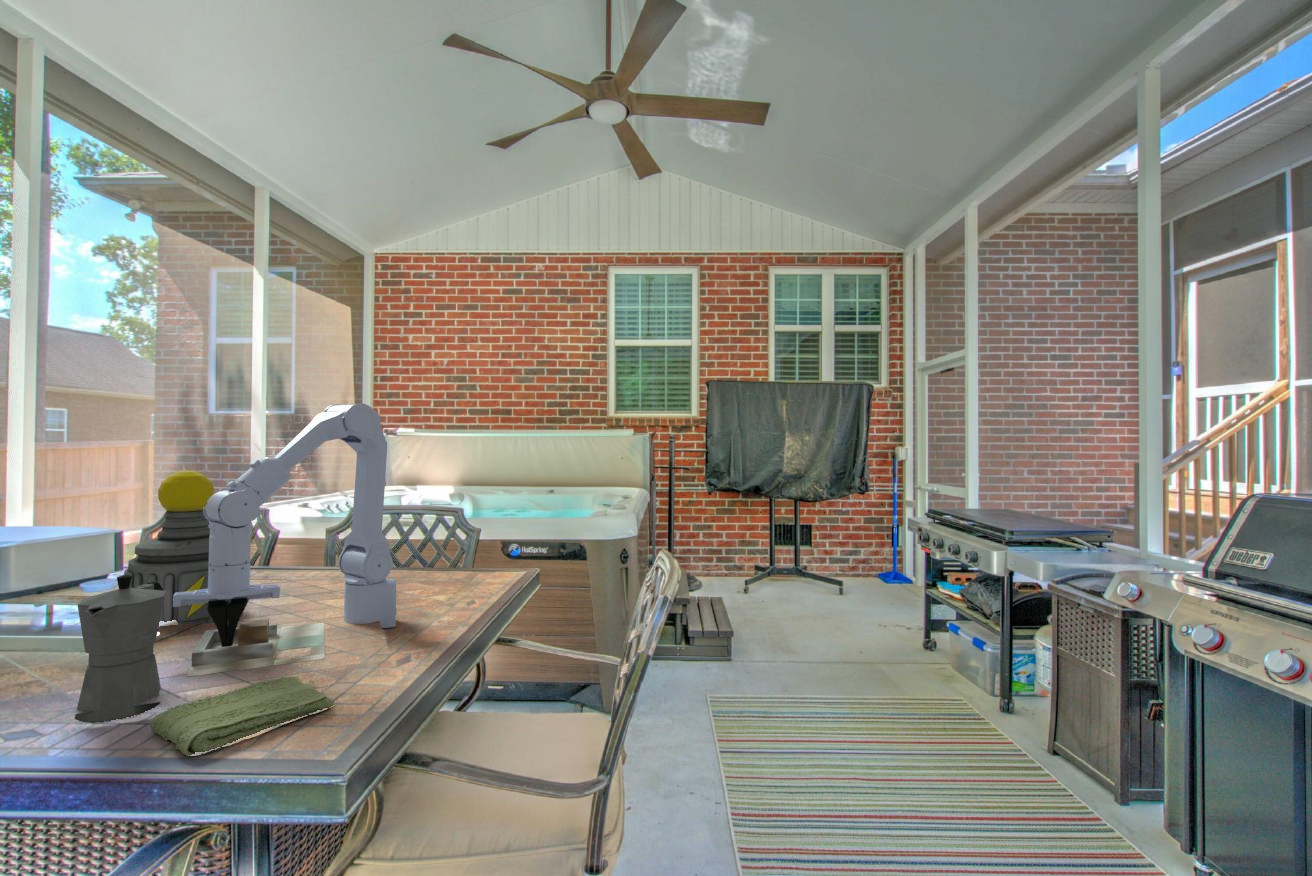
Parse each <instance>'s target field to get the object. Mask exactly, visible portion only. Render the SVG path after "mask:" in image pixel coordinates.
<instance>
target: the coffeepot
mask: <svg viewBox="0 0 1312 876" xmlns="http://www.w3.org/2000/svg"><path fill="white" fill-rule="evenodd" d="M131 579H132V576H130V575H124V574H122V575H119V576H117V577H116V581H117V585H118V588H116V589H113V590H110V591H107V592H106V591H105V592H102V593H98V594H94V595H91V596H87V597H83V598H81V600H80V601H79V602H78V603H77V610H78V617H79V621H80V622H79V623H80V629H81V634H82V641H83V647H84V653H85V654H88V662H87V663H88V664H87V666H86V670H85V672H84V678H83V681H82V686H81V690H80V694H79V698H78V702H77V706H76V709H77V710H80V711H81V710H82V711H87V712H80V713H76V714H75V716H74V720H77V721H79V722H81V721H82V722H81V723H88V724H96V723H95V722H101V723H105V722H104V721H110V722H112V721H111V720H116V719H121V720H123V719H122V718H125V719H127V718H126V717H129V718H132V717H131V716H133V717H135V716H134V715H136V716H138V715H141V713H142V714H144V712H145V711H147V712H149V711H151V710H153V709H154V708H156V707H158V706H159V705H160V704H161V701H157V702H149V703H143V702H146V701H148V700H150V699H153V698H155V697H157V696H159V695H160V692H161V687H162V686H161V681H160V675H159V669H158V665H157V660H156V654H155V653H154V650H155V649H154V648H155V647H154V645H155V643H156V642H157V641H156V640H157V632H159V628H160V627H159V622H160V617H161V612H162V607H163V602H164V597H165V593H166V591H164V590H163V588H162V587H161V585H160V583H159V582H157V581H152V582H150V583H148V584H145V585H140V586H138V587H137V588H129V586H130V582H131ZM141 703H143V704H141ZM152 708H153V709H152ZM148 710H149V711H148ZM145 713H146V712H145ZM116 721H117V720H116Z"/></svg>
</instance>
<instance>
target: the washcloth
mask: <svg viewBox="0 0 1312 876" xmlns="http://www.w3.org/2000/svg"><path fill="white" fill-rule="evenodd" d="M333 705H334V706H335V701H334V700H333V699H332V698H330V697H328V696H327V695H326V694H325V693H323V692H321V691H319V690H318V689H315V686H314V685H313V684H311V683H309V682H308V683H307V682H303V681H301V679H300V678H299V677H298V676H290V675H289V676H283V677H280V678H274V679H270V680H269V679H268V680H267V679H265V680H264V681H263V680H262V681H258V682H256V683H252V684H249V685H247V686H243V687H241V688H235V689H233V690H229V691H227V692H225V693H221V694H218V695H214V696H209V697H205V698H202V699H196V700H192V701H191V702H185V703H184V704H179V705H175V706H173V707H170V708H168V709H167V710H165V711H162V712H160V713H158V714H156V715H155V716H154V717H153V718H152V719H151V720H150V722H149V728H150V729H151V732H153V733H155V734H156V735H158V736H161V737H162V738H163V739H164V740H165V739H167V740H171V741H170V742H172V744H174V743H175V748H176V749H177V750H178V749H179V751H180V753H182V754H183V755H184V754H185V755H189V757H191V756H190V755H192V754H195V752H205V751H209V750H211V749H215V748H217V747H222V746H223V745H226V744H227V743H232V742H233V741H236V740H238V739H240V738H243V737H246V736H249V735H252V734H255V733H257V732H260V731H261V730H264V729H267V728H270V727H272V726H276V725H277V724H280V723H284V722H286V721H290V720H292V719H296V718H298V717H302V716H305V715H309V713H313V712H316V711H317V710H322V709H323V708H328V709H330V708H329V707H331V706H333ZM334 706H333V707H334ZM331 708H332V707H331ZM167 740H166V741H167Z"/></svg>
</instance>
